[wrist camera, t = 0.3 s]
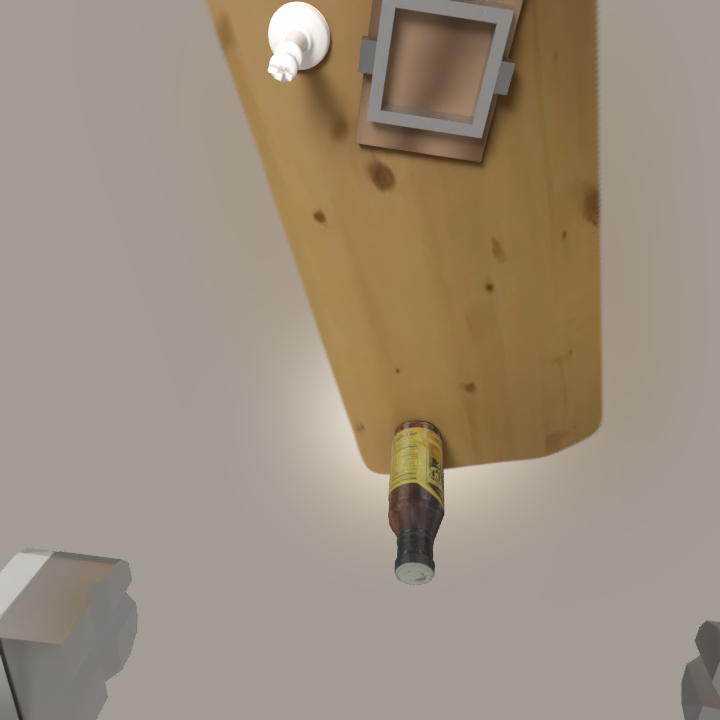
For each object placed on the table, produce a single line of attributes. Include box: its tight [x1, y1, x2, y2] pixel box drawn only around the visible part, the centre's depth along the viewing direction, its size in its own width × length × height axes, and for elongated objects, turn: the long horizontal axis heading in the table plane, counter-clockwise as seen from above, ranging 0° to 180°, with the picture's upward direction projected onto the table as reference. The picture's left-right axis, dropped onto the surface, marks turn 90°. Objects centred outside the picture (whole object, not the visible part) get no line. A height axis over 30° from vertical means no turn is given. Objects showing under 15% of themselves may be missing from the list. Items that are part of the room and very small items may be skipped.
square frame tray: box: [358, 0, 515, 138], centre depth 51 cm, size 12×10×2 cm
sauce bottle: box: [388, 421, 444, 585], centre depth 73 cm, size 7×6×20 cm
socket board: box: [355, 0, 523, 162], centre depth 52 cm, size 11×15×1 cm
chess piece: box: [268, 2, 330, 82], centre depth 48 cm, size 5×5×10 cm
